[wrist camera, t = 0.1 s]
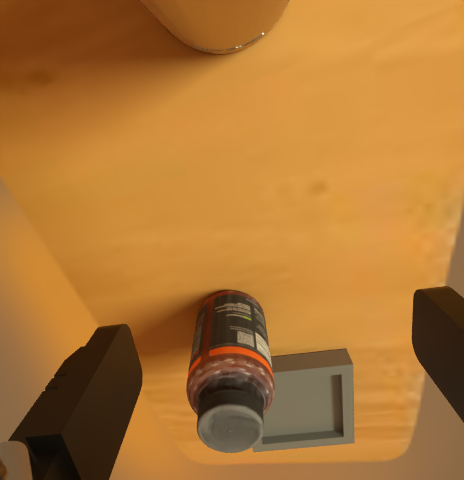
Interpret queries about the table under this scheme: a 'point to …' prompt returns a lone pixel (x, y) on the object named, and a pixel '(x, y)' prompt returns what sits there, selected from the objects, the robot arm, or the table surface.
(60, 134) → the table surface
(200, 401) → the supplement bottle
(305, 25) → the table surface
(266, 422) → the gray square tray
